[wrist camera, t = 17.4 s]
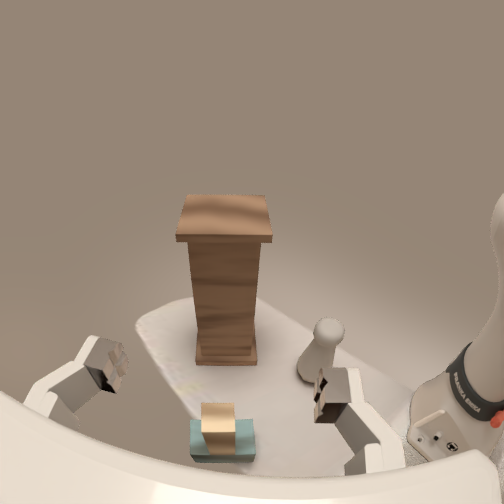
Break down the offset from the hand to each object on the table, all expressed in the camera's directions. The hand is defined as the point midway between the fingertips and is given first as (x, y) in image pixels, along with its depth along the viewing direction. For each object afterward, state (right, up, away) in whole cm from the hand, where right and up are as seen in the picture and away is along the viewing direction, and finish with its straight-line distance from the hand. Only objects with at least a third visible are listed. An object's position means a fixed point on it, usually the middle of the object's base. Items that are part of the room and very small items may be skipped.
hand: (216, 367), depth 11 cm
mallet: (-2, -18, +16) cm, 24 cm away
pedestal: (-3, -11, +38) cm, 40 cm away
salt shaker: (+11, -16, +34) cm, 39 cm away
